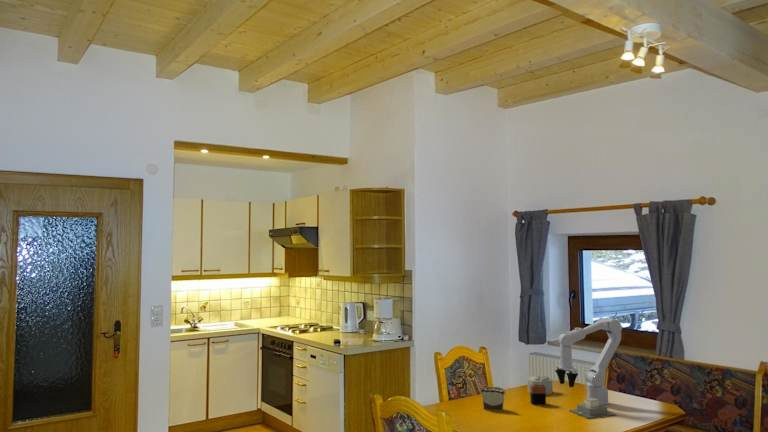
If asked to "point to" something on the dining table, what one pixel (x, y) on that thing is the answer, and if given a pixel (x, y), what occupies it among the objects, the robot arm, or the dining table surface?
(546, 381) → the lumpy-topped squat cylinder
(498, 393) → the food container
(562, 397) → the dining table surface
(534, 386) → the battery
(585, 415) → the socket dock
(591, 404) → the plug
